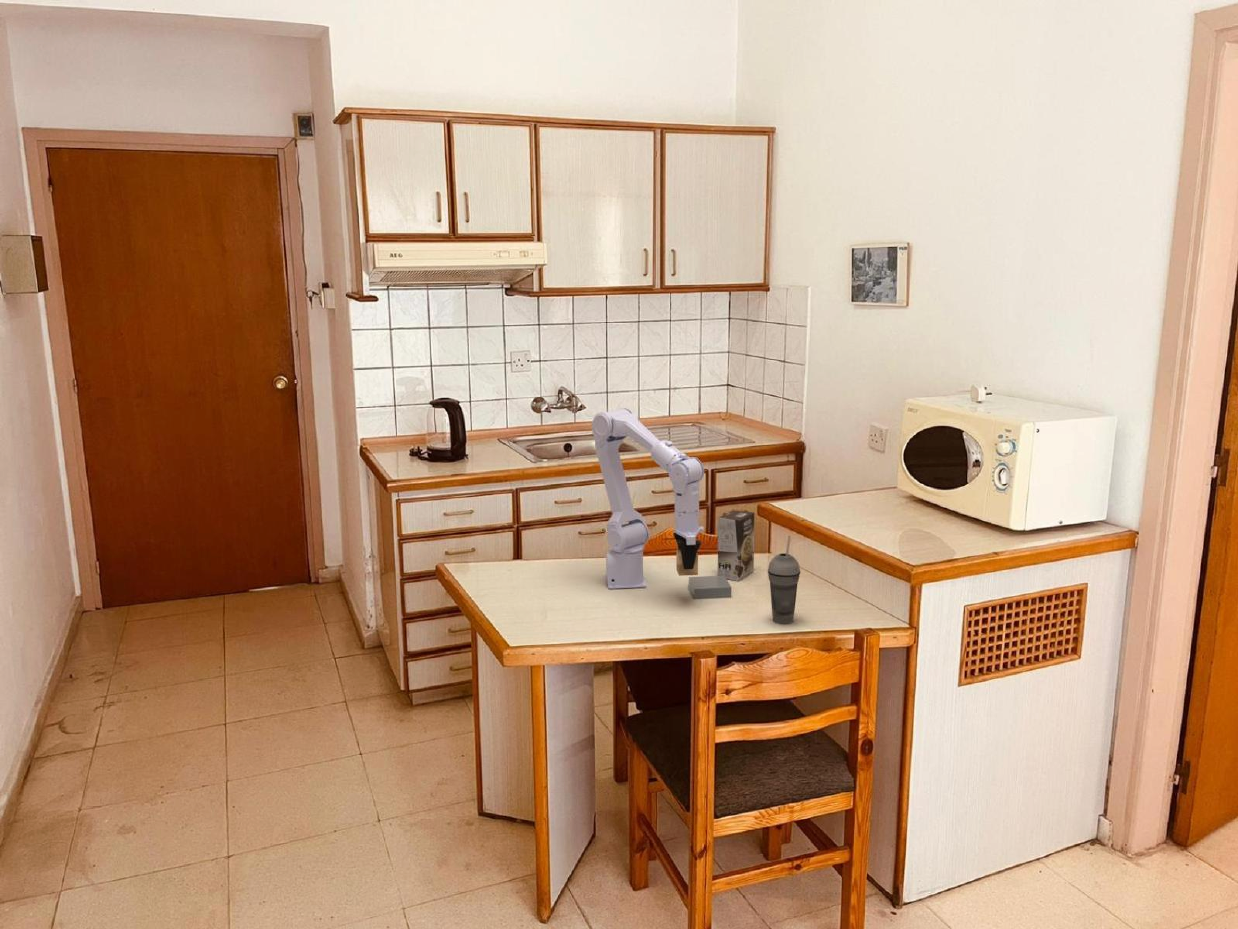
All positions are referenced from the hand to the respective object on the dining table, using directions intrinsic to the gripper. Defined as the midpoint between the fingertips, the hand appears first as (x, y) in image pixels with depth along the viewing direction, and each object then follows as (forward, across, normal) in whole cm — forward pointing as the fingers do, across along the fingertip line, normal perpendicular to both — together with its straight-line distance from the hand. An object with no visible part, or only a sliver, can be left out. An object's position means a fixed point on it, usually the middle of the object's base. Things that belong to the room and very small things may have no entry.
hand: (687, 565), depth 230 cm
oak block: (+2, 0, 0) cm, 2 cm away
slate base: (+9, +6, -6) cm, 12 cm away
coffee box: (+9, +18, -15) cm, 25 cm away
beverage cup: (+9, -15, -20) cm, 26 cm away
